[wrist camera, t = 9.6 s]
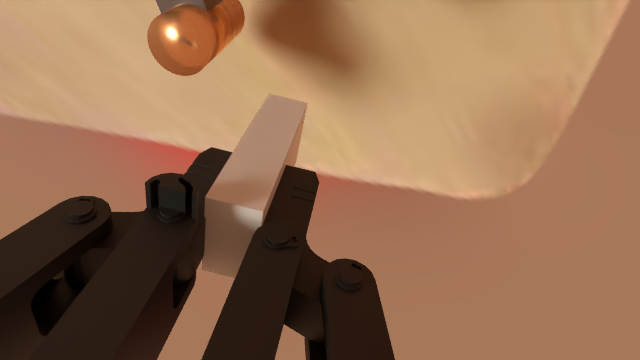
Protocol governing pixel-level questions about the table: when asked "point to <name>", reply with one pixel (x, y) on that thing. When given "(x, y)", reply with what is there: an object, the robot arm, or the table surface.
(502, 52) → the table surface
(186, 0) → the lever
